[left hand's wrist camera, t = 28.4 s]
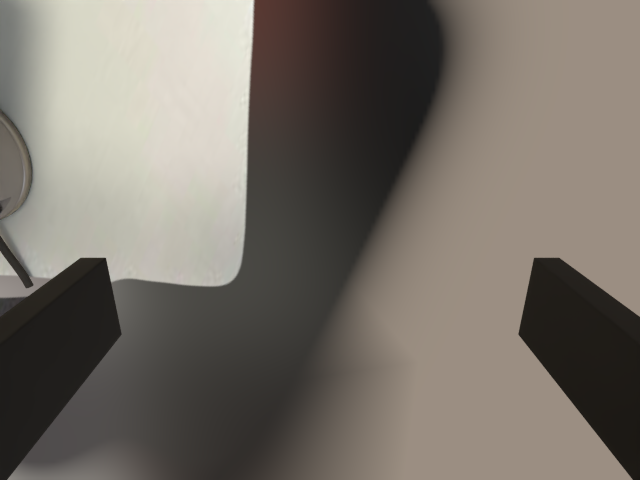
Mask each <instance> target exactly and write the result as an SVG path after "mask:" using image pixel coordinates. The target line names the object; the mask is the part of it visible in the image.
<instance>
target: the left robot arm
mask: <svg viewBox="0 0 640 480" xmlns="http://www.w3.org/2000/svg"><path fill="white" fill-rule="evenodd" d="M31 179H32V168H31V161H30V157H29V154H28V150H27V148H26V145H25V143H24V141H23V139H22V137H21V135H20V134H19V132H18V130H17V129H16V128H15V126H14V125H13V124H12V122H11V121H10V120H9V119H8V118H7V116H6V115H5V114H4V113H3V112H2V111H0V219H3V218H5V217H7V216H9V215H11V214H12V213H13V212H15V211H16V210H17V209H18V208H19V207H20V206H21V205H22V204H23V202H24V201H25V199H26V197H27V195H28V193H29V190H30V186H31ZM0 251H1V253H2V254H3V255H4V257H5V258H6V259H7V261H8V262H9V264H10V265H11V266H12V267H13V269H14V270H15V272H16V273H17V274H18V276H19V277H20V279H21V280H22V282H23V284H24V285H25V287H26V288H29V287H31V286H33V283H32V281H31V279H30V278H29V276H28V275H27V273H26V272H25V270H24V269H23V267H22V266H21V265H20V263H19V262H18V261H17V259H16V258H15V256H14V255H13V254H12V252H11V251H10V249H9V248H8V246H7V245H6V244H5V242H4V241H3V239H2V238H1V236H0ZM120 336H121V329H120V325H119V320H118V315H117V310H116V305H115V300H114V295H113V290H112V286H111V281H110V276H109V271H108V266H107V261H106V258H80V259H79V260H77V261H76V262H75V263H73V264H72V265H70V266H69V267H68V268H66V269H65V270H64V271H62V272H61V273H60V274H58V275H57V276H55V277H54V278H53V279H51V280H50V281H49V282H47V283H46V284H45V285H43V286H42V287H40V288H39V289H38V290H36V291H35V292H34V293H32V294H31V295H30V296H28V297H27V298H25V299H24V300H23V301H21V302H20V303H19V304H17V305H16V306H15V307H13V308H12V309H10V310H9V311H8V312H6V313H5V314H4V315H2V316H1V317H0V480H7V479H8V478H9V477H10V475H11V474H12V473H13V471H14V470H15V469H16V468H17V466H18V465H19V464H20V463H21V461H22V460H23V459H24V458H25V456H26V455H27V454H28V452H29V451H30V450H31V449H32V447H33V446H34V445H35V443H36V442H37V441H38V440H39V438H40V437H41V436H42V435H43V433H44V432H45V431H46V430H47V428H48V427H49V426H50V424H51V423H52V422H53V421H54V419H55V418H56V417H57V416H58V414H59V413H60V412H61V411H62V409H63V408H64V407H65V405H66V404H67V403H68V402H69V400H70V399H71V398H72V397H73V395H74V394H75V393H76V391H77V390H78V389H79V388H80V386H81V385H82V384H83V383H84V381H85V380H86V379H87V378H88V376H89V375H90V374H91V372H92V371H93V370H94V369H95V367H96V366H97V365H98V364H99V362H100V361H101V360H102V358H103V357H104V356H105V355H106V353H107V352H108V351H109V350H110V348H111V347H112V346H113V345H114V343H115V342H116V341H117V339H118V338H119V337H120ZM519 336H520V337H521V338H522V339H523V341H524V342H525V343H526V345H527V346H528V347H529V348H530V350H531V351H532V352H533V353H534V355H535V356H536V357H537V359H538V360H539V361H540V362H541V363H542V365H543V366H544V367H545V369H546V370H547V371H548V372H549V374H550V375H551V376H552V378H553V379H554V380H555V381H556V383H557V384H558V385H559V386H560V388H561V389H562V390H563V392H564V393H565V394H566V395H567V397H568V398H569V399H570V400H571V402H572V403H573V404H574V405H575V407H576V408H577V409H578V411H579V412H580V413H581V414H582V416H583V417H584V418H585V419H586V421H587V422H588V423H589V425H590V426H591V427H592V428H593V430H594V431H595V432H596V433H597V435H598V436H599V437H600V438H601V440H602V441H603V442H604V444H605V445H606V446H607V447H608V449H609V450H610V451H611V452H612V454H613V455H614V456H615V458H616V459H617V460H618V461H619V463H620V464H621V465H622V466H623V468H624V469H625V470H626V471H627V473H628V474H629V475H630V476H631V478H632V479H633V480H640V317H639V316H638V315H636V314H635V313H634V312H632V311H631V310H630V309H628V308H627V307H625V306H624V305H623V304H621V303H620V302H619V301H617V300H616V299H615V298H613V297H612V296H610V295H609V294H608V293H606V292H605V291H604V290H602V289H601V288H600V287H598V286H597V285H595V284H594V283H593V282H591V281H590V280H589V279H587V278H586V277H585V276H583V275H582V274H580V273H579V272H578V271H576V270H575V269H574V268H572V267H571V266H570V265H568V264H567V263H565V262H564V261H563V260H561V259H560V258H534V261H533V266H532V271H531V276H530V281H529V286H528V290H527V295H526V300H525V305H524V310H523V315H522V320H521V324H520V329H519Z"/></svg>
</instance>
